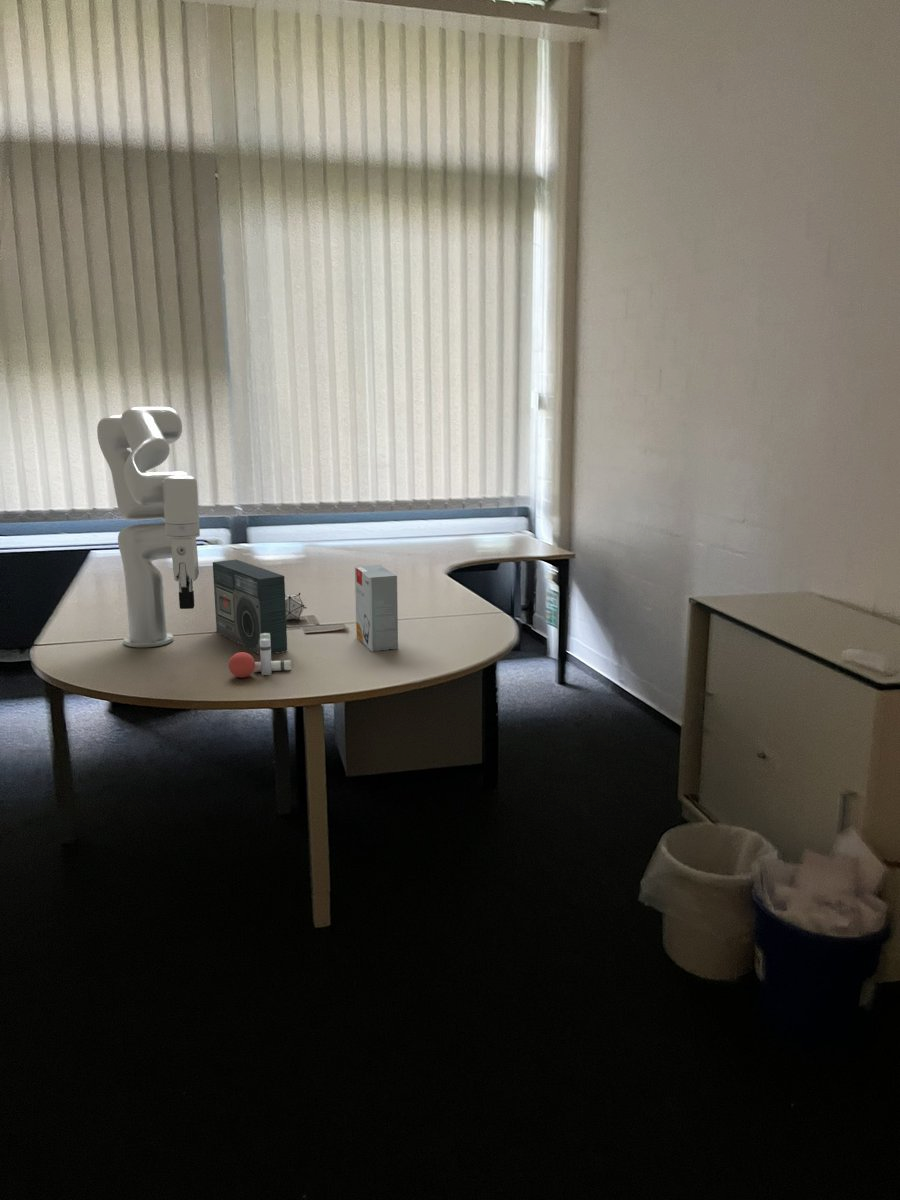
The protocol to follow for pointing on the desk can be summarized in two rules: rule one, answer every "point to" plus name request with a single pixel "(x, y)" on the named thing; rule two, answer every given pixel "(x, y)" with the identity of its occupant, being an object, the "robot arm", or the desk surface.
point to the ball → (241, 664)
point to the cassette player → (250, 604)
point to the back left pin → (265, 636)
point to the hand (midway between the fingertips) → (187, 607)
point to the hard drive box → (376, 607)
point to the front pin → (275, 665)
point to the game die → (293, 606)
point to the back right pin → (265, 656)
